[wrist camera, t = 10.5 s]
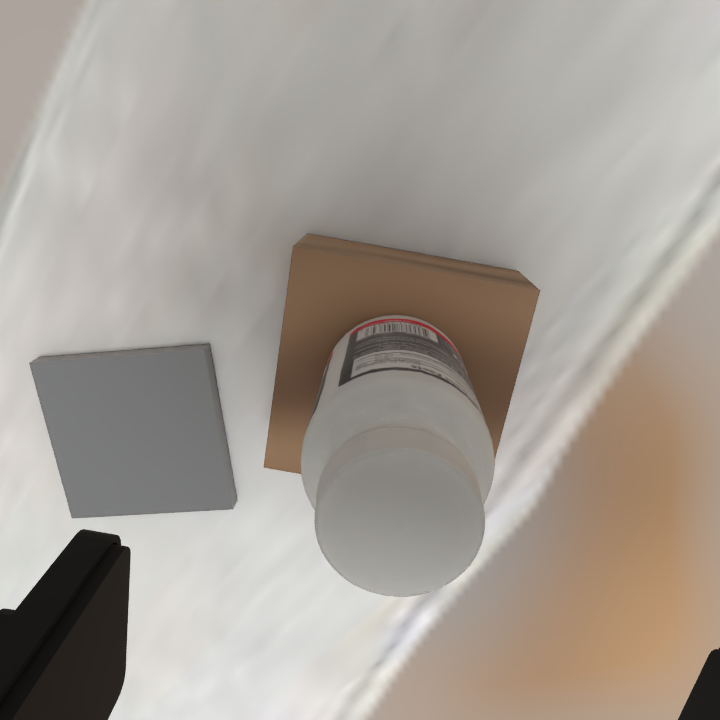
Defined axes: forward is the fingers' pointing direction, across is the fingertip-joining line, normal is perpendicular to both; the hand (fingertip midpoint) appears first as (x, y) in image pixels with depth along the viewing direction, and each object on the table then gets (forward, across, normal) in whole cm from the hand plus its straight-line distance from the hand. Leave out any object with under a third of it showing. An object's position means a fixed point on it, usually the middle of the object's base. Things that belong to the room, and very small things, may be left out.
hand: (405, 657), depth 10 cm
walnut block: (+18, 0, +1) cm, 18 cm away
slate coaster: (+18, +11, +7) cm, 22 cm away
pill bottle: (+14, 0, +1) cm, 14 cm away
